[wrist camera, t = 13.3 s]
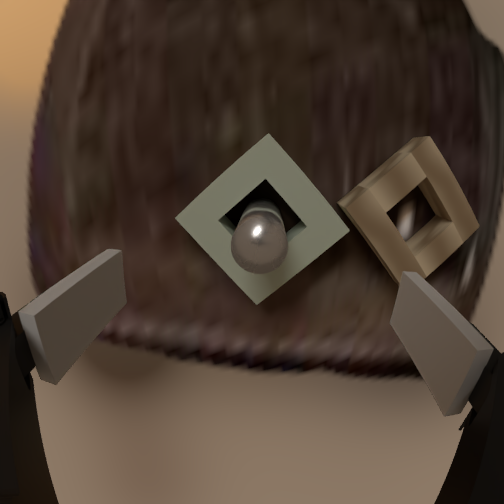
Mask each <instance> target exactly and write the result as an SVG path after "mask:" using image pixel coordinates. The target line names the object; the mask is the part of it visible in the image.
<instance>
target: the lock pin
mask: <svg viewBox="0 0 504 504" xmlns="http://www.w3.org/2000/svg"><path fill="white" fill-rule="evenodd" d="M287 252H288V241H287V237H286V232H285V228H284V224H283V220H282V216H281V212H280V209H279V207H278V206H277V204H276V203H275V202H273V201H272V200H270V199H267V198H258V199H255V200H253V201H251V202H250V203H249V204H248V205H247V206H246V208H245V210H244V212H243V214H242V217H241V219H240V221H239V223H238V225H237V227H236V230H235V232H234V234H233V236H232V240H231V253H232V256H233V258H234V260H235V262H236V263H237V264H238V265H239V266H240V267H241V268H242V269H244V270H246V271H248V272H250V273H254V274H265V273H269V272H272V271H273V270H275V269H277V268H278V267H279V266H280V265H281V264H282V263H283V262H284V260H285V258H286V256H287Z"/></svg>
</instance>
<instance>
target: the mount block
mask: <svg viewBox="0 0 504 504" xmlns="http://www.w3.org/2000/svg"><path fill="white" fill-rule="evenodd" d="M417 185H418V187H419V188H420V190H421V191H422V193H423V195H424V196H425V198H426V199H427V201H428V203H429V204H430V206H431V208H432V209H433V211H434V213H435V216H434V217H433V218H432V219H431V220H430V221H429V222H428V223H427V224H426V225H425V226H423V227H422V228H421V229H420V230H419V231H418V232H417V233H416V234H415V235H413V236H412V237H411V238H410V239H409V240H408V241H407V242H405V241H404V239H403V238H402V236H401V235H400V233H399V232H398V230H397V229H396V227H395V226H394V224H393V223H392V221H391V220H390V218H389V217H388V215H387V214H386V212H387V211H389V210H390V209H391V208H392V207H393V206H394V205H395V204H397V203H398V202H399V201H400V200H401V199H402V198H403V197H405V196H406V195H407V194H408V193H409V192H410V191H411V190H413V189H414V188H415V187H416V186H417ZM337 204H338V205H339V206H340V207H341V209H342V210H343V211H344V213H345V214H346V215H347V216H348V218H349V219H350V220H351V222H352V223H353V224H354V226H355V227H356V228H357V230H358V231H359V232H360V234H361V235H362V236H363V238H364V239H365V240H366V242H367V243H368V245H369V246H370V247H371V249H372V250H373V251H374V253H375V254H376V256H377V257H378V258H379V260H380V261H381V263H382V264H383V266H384V267H385V268H386V270H387V271H388V273H389V274H390V276H391V277H392V279H393V280H394V281H395V282H396V283H397V284H398V286H399V285H400V281H401V276H402V272H403V271H407V272H417V273H418V274H419V275H420V276H421V277H422V278H423V279H425V278H426V277H427V276H428V275H429V274H430V273H432V272H433V271H434V270H435V269H436V268H437V267H438V266H439V265H440V264H441V263H443V262H444V261H445V260H446V259H447V258H448V257H449V256H450V255H451V254H452V253H453V252H454V251H455V250H456V249H457V248H458V247H459V246H460V245H461V244H463V243H464V242H465V241H466V240H467V239H468V238H469V237H470V236H471V235H472V234H473V233H474V232H475V230H476V229H477V228H478V227H479V224H478V222H477V220H476V218H475V215H474V213H473V211H472V209H471V207H470V205H469V203H468V201H467V199H466V197H465V195H464V193H463V192H462V190H461V188H460V186H459V184H458V182H457V180H456V179H455V177H454V175H453V173H452V172H451V170H450V168H449V166H448V165H447V163H446V161H445V160H444V158H443V156H442V155H441V153H440V151H439V150H438V148H437V147H436V145H435V144H434V142H433V140H432V139H431V137H430V136H426V137H417V138H413V139H411V140H410V141H409V142H408V143H407V144H406V145H404V146H403V147H402V148H401V149H400V150H399V151H397V152H396V153H395V154H394V155H393V156H391V157H390V158H389V159H388V160H387V161H386V162H384V163H383V164H382V165H381V166H380V167H379V168H377V169H376V170H375V171H374V172H373V173H371V174H370V175H369V176H368V177H367V178H366V179H364V180H363V181H362V182H361V183H360V184H358V185H357V186H356V187H355V188H354V189H353V190H351V191H350V192H349V193H348V194H347V195H345V196H344V197H343V198H342V199H341V200H339V201H338V202H337Z"/></svg>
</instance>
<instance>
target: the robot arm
mask: <svg viewBox="0 0 504 504" xmlns="http://www.w3.org/2000/svg"><path fill="white" fill-rule="evenodd" d="M126 303H127V302H126V293H125V284H124V273H123V261H122V250H115V249H107V250H106V251H104V252H103V253H101V254H99V255H98V256H96V257H95V258H93V259H92V260H90V261H89V262H87V263H86V264H84V265H83V266H81V267H80V268H78V269H77V270H75V271H74V272H72V273H71V274H70V275H68V276H67V277H65V278H64V279H62V280H61V281H59V282H58V283H57V284H55V285H54V286H52V287H51V288H49V289H48V290H47V291H45V292H43V293H42V294H40V295H39V296H37V297H36V299H33V300H32V301H31V302H30V303H29V304H27V305H25V306H24V307H23V308H21V309H20V310H18V311H17V312H16V313H15V314H13V315H12V316H11V314H10V310H9V306H8V302H7V298H6V294H4V293H3V292H0V504H59V503H58V500H57V497H56V494H55V490H54V487H53V484H52V480H51V477H50V473H49V469H48V465H47V461H46V457H45V452H44V448H43V443H42V438H41V433H40V427H39V421H38V415H37V409H36V401H35V393H34V384H33V378H32V376H31V373H30V372H31V370H32V369H33V368H34V367H35V366H36V369H37V372H38V374H39V377H40V379H41V380H44V381H46V382H49V383H52V384H54V385H57V384H58V382H59V381H60V380H61V378H62V377H63V376H64V375H65V374H66V372H67V371H68V370H69V369H70V367H71V366H72V365H73V364H74V363H75V362H76V360H77V359H78V358H79V357H80V356H81V354H82V353H83V352H84V351H85V350H86V348H87V347H88V346H89V345H90V344H91V343H92V341H93V340H94V339H95V338H96V337H97V336H98V334H99V333H100V332H101V331H102V330H103V329H104V328H105V326H106V325H107V324H108V323H109V322H110V321H111V320H112V318H113V317H114V316H115V315H116V314H117V313H118V312H119V311H120V309H121V308H122V307H123V306H124V305H125V304H126ZM390 324H391V326H392V327H393V329H394V331H395V332H396V334H397V335H398V337H399V339H400V340H401V342H402V344H403V345H404V347H405V348H406V350H407V352H408V353H409V355H410V357H411V358H412V360H413V362H414V364H415V365H416V367H417V369H418V370H419V372H420V374H421V376H422V377H423V379H424V381H425V383H426V384H427V386H428V388H429V390H430V391H431V393H432V395H433V397H434V399H435V400H436V402H437V404H438V406H439V408H440V410H441V411H442V413H443V415H444V416H450V415H455V414H459V413H461V412H462V410H463V408H464V407H465V405H466V403H467V401H468V400H469V402H470V403H471V405H472V409H471V411H470V412H469V414H468V415H467V417H466V418H465V420H464V422H463V424H462V425H461V426H460V428H459V430H462V428H463V427H464V429H463V433H462V436H461V439H460V442H459V445H458V448H457V450H456V453H455V456H454V459H453V462H452V464H451V467H450V469H449V472H448V474H447V477H446V479H445V481H444V484H443V486H442V488H441V491H440V493H439V495H438V497H437V499H436V501H435V503H434V504H504V352H503V353H502V354H501V353H500V352H499V351H498V350H497V349H496V348H495V347H494V346H493V345H492V344H491V343H490V341H489V340H488V339H487V338H485V336H484V335H483V334H482V333H480V331H479V330H478V329H477V328H476V327H475V326H474V325H473V324H472V323H470V322H468V321H467V320H466V319H465V318H464V317H463V316H462V315H461V314H460V313H459V312H458V311H457V310H456V309H455V308H454V307H453V306H452V305H451V304H450V303H449V302H448V301H447V300H446V299H445V298H444V297H443V296H442V295H440V294H439V293H438V292H437V291H436V290H435V289H434V288H433V287H432V286H431V285H430V284H429V283H428V282H427V281H425V280H424V279H423V278H422V277H421V276H420V275H419V274H418V273H417V272H407V271H403V272H402V276H401V281H400V285H399V289H398V294H397V298H396V302H395V305H394V309H393V313H392V317H391V320H390Z"/></svg>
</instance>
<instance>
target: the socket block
mask: <svg viewBox="0 0 504 504" xmlns="http://www.w3.org/2000/svg"><path fill="white" fill-rule="evenodd" d="M265 179H266V180H267V181H268V182H269V183H270V184H271V185H272V186H273V187H274V189H275V190H276V191H277V192H278V193H279V194H280V196H281V197H282V198H283V199H284V200H285V201H286V202H287V204H288V205H289V206H290V207H291V208H292V209H293V211H294V212H295V213H296V214H297V215H298V217H299V218H300V219H301V221H300V222H299V223H298V224H296V225H295V226H294V227H293V228H292V229H290V230H289V231H288V232H287V233H286V237H287V241H288V252H287V256H286V258H285V260H284V262H283V263H282V264H281V265H280V266H279V267H278V268H277V269H275V270H273V271H272V272H269V273H265V274H254V273H250V272H248V271H246V270H244V269H242V268H241V267H240V266H239V265H238V264H237V263H236V262H235V260H234V258H233V256H232V253H231V240H232V236H233V234H234V232H235V230H236V227H235V225H234V224H233V223H232V222H231V221H230V220H229V219H228V218H227V217H226V216H225V214H226V213H227V212H228V211H229V210H230V209H231V208H232V207H234V206H235V205H236V204H237V203H238V202H239V201H240V200H242V199H243V198H244V197H245V196H246V195H247V194H248V193H250V192H251V191H252V190H253V189H254V188H255V187H256V186H258V185H259V184H260V183H261V182H262V181H263V180H265ZM175 219H176V220H177V221H178V222H179V223H180V224H181V225H182V226H183V227H184V228H185V229H186V231H187V232H188V233H189V234H190V235H191V236H192V237H193V238H194V239H195V240H196V241H197V242H198V244H199V245H200V246H201V247H202V248H203V249H204V250H205V251H206V252H207V253H208V254H209V255H210V256H211V258H212V259H213V260H214V261H215V262H216V263H217V264H218V265H219V266H220V267H221V268H222V269H223V270H224V271H225V272H226V273H227V275H228V276H229V277H230V278H231V279H232V280H233V281H234V282H235V283H236V284H237V285H238V286H239V287H240V288H241V289H242V290H243V291H244V292H245V293H246V294H247V295H248V297H249V298H250V299H251V300H252V301H253V302H254V303H255V304H256V305H257V304H259V303H260V302H261V301H263V300H264V299H265V298H266V297H268V296H269V295H270V294H272V293H273V292H274V291H276V290H277V289H278V288H279V287H281V286H282V285H283V284H284V283H286V282H287V281H288V280H290V279H291V278H292V277H293V276H295V275H296V274H297V273H298V272H300V271H301V270H302V269H303V268H305V267H306V266H307V265H308V264H310V263H311V262H312V261H313V260H315V259H316V258H317V257H318V256H320V255H321V254H322V253H323V252H325V251H326V250H327V249H328V248H329V247H331V246H332V245H333V244H334V243H336V242H337V241H338V240H339V239H340V238H342V237H343V236H344V235H345V234H346V233H348V232H349V231H350V230H349V229H348V227H347V226H346V225H345V224H344V222H343V221H342V220H341V218H340V217H339V216H338V215H337V213H336V212H335V211H334V210H333V208H332V207H331V206H330V205H329V203H328V202H327V201H326V200H325V198H324V197H323V196H322V195H321V193H320V192H319V191H318V190H317V189H316V187H315V186H314V185H313V184H312V182H311V181H310V180H309V179H308V178H307V177H306V175H305V174H304V173H303V172H302V171H301V169H300V168H299V167H298V166H297V165H296V164H295V162H294V161H293V160H292V159H291V158H290V157H289V156H288V154H287V153H286V152H285V151H284V150H283V149H282V148H281V147H280V145H279V144H278V143H277V142H276V141H275V140H274V139H273V138H272V136H271V135H270V134H269V133H268V134H267V135H266V136H265V137H264V138H262V139H261V140H260V141H259V142H258V143H257V144H255V145H254V146H253V147H252V148H251V149H250V150H248V151H247V152H246V153H245V154H244V155H243V156H242V157H240V158H239V159H238V160H237V161H236V162H235V163H234V164H233V165H231V166H230V167H229V168H228V169H227V170H226V171H225V172H224V173H223V174H221V175H220V176H219V177H218V178H217V179H216V180H215V181H214V182H213V183H212V184H210V185H209V186H208V187H207V188H206V189H205V190H204V191H203V192H202V193H201V194H200V195H199V196H198V197H197V198H196V199H194V200H193V201H192V202H191V203H190V204H189V205H188V206H187V207H186V208H185V209H184V210H183V211H182V212H181V213H180V214H179V215H178V216H177V217H176V218H175Z"/></svg>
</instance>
